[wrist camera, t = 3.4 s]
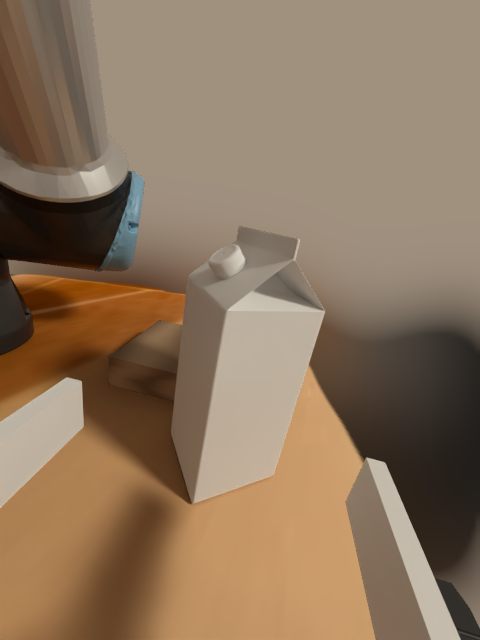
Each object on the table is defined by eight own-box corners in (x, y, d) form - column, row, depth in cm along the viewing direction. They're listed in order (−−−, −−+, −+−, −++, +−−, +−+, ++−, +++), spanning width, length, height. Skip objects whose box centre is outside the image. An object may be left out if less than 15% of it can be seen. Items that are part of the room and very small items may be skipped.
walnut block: (108, 387, 29) (108, 356, 28) (157, 343, 40) (159, 320, 39) (211, 414, 28) (217, 383, 27) (232, 361, 39) (237, 338, 38)
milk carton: (237, 418, 28) (278, 233, 21) (273, 477, 22) (346, 247, 15) (169, 432, 24) (193, 217, 18) (191, 507, 18) (238, 228, 12)
